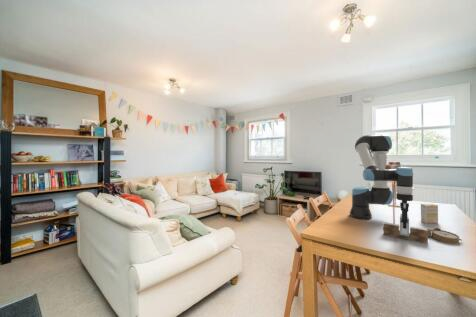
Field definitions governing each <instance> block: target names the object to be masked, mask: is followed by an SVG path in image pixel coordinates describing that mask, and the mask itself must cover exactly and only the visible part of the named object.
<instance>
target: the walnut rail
mask: <svg viewBox="0 0 476 317" xmlns="http://www.w3.org/2000/svg"><path fill="white" fill-rule="evenodd" d="M427 229H428V228H424V227H423V228H422V227H416V226H409V236H404V235H400V224H397V223H391V222H383V236H387V237H391V238H392V237H393V238H398V239H404V240H409V241H414V242H420V243H425V244H429V236H428V230H427Z"/></svg>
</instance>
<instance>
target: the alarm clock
mask: <svg viewBox="0 0 476 317" xmlns="http://www.w3.org/2000/svg"><path fill="white" fill-rule="evenodd" d="M426 229H427V230H428V238H433V239H434V240H437V241H440V242H442V243H446V244H459V243H460V241H463V239H460V236H459V235H458V234H456V233H453V232H450V231H447V230H442V229H441V228H438V227H434V228H433V229H431V228H426Z"/></svg>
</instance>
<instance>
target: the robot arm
mask: <svg viewBox="0 0 476 317" xmlns="http://www.w3.org/2000/svg"><path fill="white" fill-rule="evenodd" d="M392 146H393V142H392V138H391V137H390V136H389V135H388V134H369V135H368V134H367V135H362V136H360V137H359V138H358V139H357V140H356V142H355V145H354V149H355V151H356V153H358V156H359V158H360V161H361V163H362V166H363V168H364V169H363V171H362V178H363V180H364V181H368V182H369V181H370V182H373V184H372V185H371V188H370V187H368V186H356V187H353V188H352V190H351V208H350V211H349V216H350V217H351V218H354V219H358V220H371V219H372V218H373V215H372V212H371V209H370V205H380V206H381V205H382V206H386V205H388V206H389V205H390V204H392V202H393V200H394V192H393V190H392V189H390V186H389V185H388V182H395V183H396V184H395V185H396V186H395V189H396V190H395V191H396V199H397V200H398V201H401V202H400V203H399V204H400V205H399V206H400V211H401V214H402V221H400V220H399V223H400V222H402V233H403V234H408V221H407V215H408V212H409V207H410V203H409V202H413V200H414V195H413V193H414V192H413V191H414V190H415V188H414V187H413V184H414V183H413V182H414V172H413V171H414V169H413V168H412V167H410V166H408V167H407V166H397V167H396V168H392V169H389V168H387V169H384V168H385V166H386V165H387V154H388V153H390V152H389V151H390V150H392V148H393V147H392Z"/></svg>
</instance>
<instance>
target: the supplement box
mask: <svg viewBox="0 0 476 317" xmlns="http://www.w3.org/2000/svg"><path fill="white" fill-rule="evenodd" d="M420 222H422V223H424V224H439V205H438V204H435V203H420Z"/></svg>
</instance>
